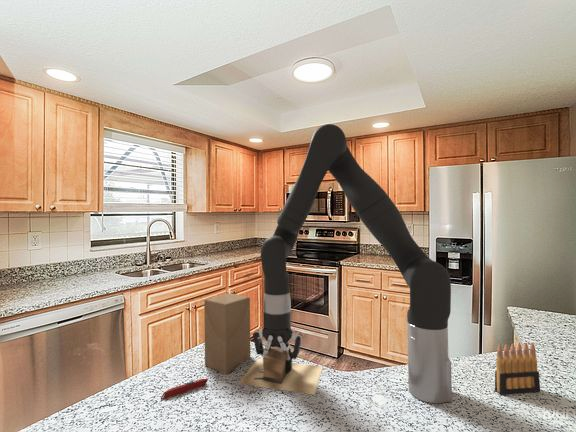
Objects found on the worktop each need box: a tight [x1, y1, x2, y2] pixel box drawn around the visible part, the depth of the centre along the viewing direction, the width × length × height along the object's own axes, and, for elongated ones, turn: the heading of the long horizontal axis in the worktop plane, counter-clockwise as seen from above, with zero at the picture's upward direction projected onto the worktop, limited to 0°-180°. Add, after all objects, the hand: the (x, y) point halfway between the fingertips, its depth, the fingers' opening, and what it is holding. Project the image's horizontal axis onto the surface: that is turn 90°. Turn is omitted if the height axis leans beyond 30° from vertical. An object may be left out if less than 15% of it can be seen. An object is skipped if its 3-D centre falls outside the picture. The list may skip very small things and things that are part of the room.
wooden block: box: [203, 293, 251, 375], centre depth 91 cm, size 10×10×20 cm
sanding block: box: [263, 345, 292, 384], centre depth 81 cm, size 5×9×6 cm, turn 165°
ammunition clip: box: [494, 342, 541, 396], centre depth 74 cm, size 11×2×12 cm, turn 95°
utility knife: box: [160, 378, 209, 400], centre depth 76 cm, size 12×1×2 cm, turn 124°
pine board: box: [238, 358, 324, 395], centre depth 81 cm, size 20×14×2 cm
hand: (277, 370), depth 81 cm, fingers closed on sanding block, 5 cm apart
